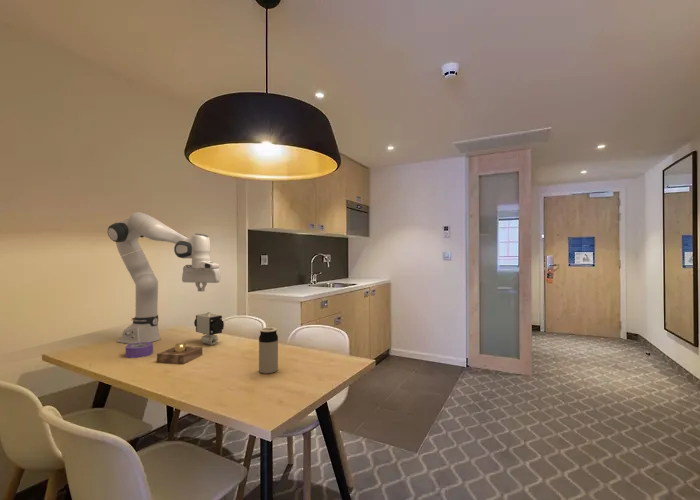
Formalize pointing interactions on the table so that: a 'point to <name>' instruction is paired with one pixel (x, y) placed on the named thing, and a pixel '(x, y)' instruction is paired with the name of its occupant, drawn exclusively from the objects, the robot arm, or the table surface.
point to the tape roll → (139, 349)
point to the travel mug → (268, 350)
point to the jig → (179, 355)
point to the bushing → (180, 347)
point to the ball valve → (209, 327)
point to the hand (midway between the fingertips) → (201, 291)
